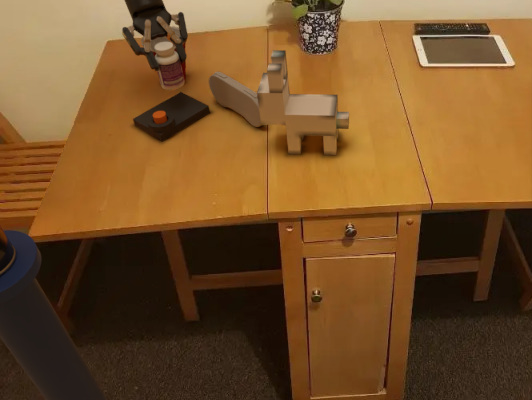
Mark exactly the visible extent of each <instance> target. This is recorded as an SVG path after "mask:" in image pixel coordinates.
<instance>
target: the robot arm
mask: <svg viewBox="0 0 532 400" xmlns="http://www.w3.org/2000/svg"><path fill="white" fill-rule="evenodd" d="M124 3H125V6H126V7H127V11H128V13H129V15H130V18H131V19H132V24H131V25H130V26H124V27H122V29H121V32H122V33H121V35H122V36H123V38H124V39H125V41H126V42H127V44H128V45H129V47H130V49H131V50H132V52H133V53H134V55H135V56H137V57H139V56H144V57H146V60H147V63H148V64H149V67H150V69H151V70H154V72H157V71H159V66H158V64H157V61H156V59H155V57H154V54H153V52H151V50H150V43H151V40H154V39H156V38H158V37H166V38H167V39H168V40H169V41H171V42H172V43H173V44H174V46H175V49H176V52H177V53H178V55H179V58H180V61H181V63H185V60H186V61H187V57H188V56H187V53H186V49H185V50H184V48H183V45H182V44H183V43H184V42H187V41H188V38H189V34H188V30H187V29H188V28H187V24H186V19H185V14H184V12H182V11H179V12H178V13H176V14H175V13H173V14H171V13H170V12H169V11H168V10H167V8H166V5H165V3H164V0H124ZM172 21H173V23H174V24H175V25H176V26H177V27H178V28H179V31H180V37H178V36H177V35H176V34H175V32H174V31H173V30H172V29H171V28H170V26H171V22H172ZM135 32H137V33H138V34H139V35H141V36H142V37H143V36H144V47H143V46H140V45H139V43H138V41H137V40H136V38H135ZM16 258H17V252H16V250H15V248H14V246H13V245H12V244H11V242H10V241H9V239H8V238H7V236H6V234H5V233H4V229H3V228H2V226H1V225H0V277H1V276H3V275H4V274H5V273H7V272H8V271H9V270H10V269H11V268H12V266H13V265H14V263H15V261H16Z"/></svg>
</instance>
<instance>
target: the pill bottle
mask: <svg viewBox="0 0 532 400" xmlns="http://www.w3.org/2000/svg"><path fill="white" fill-rule="evenodd" d="M155 52H156V55H155V59H156V61H157V64H158V66H159V71H156V72H157V76H158V79H159V83H160V86H161V87H162V89H164V90H165V91H175V90H178V89H181V88H182V87H184V85H185V81H186V80H185V81H184V76H183V71H182V67H181V63H180V58H179V55H178V53H177V52H176V51H174V46H173V44H172V43H171V42H160V43H158V44H156V45H155Z"/></svg>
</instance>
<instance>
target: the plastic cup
mask: <svg viewBox="0 0 532 400" xmlns="http://www.w3.org/2000/svg"><path fill="white" fill-rule="evenodd" d="M170 28H171V29H172V30H173V31H174V32H175V34H176V35H177V36H178V37H180V31H179V26H173V25H170ZM140 41H141V42H140V43H141V47H144V36H143V35H142V38H141V40H140ZM160 42H171V41H169V40H168V39H167V38H166V37H158V38H156V39H154V40H151V43H150V50H151V52H153V54H154V57H155V55H156V52H155V45H156V44H158V43H160ZM186 42H187V41H186ZM186 42H184V43H183V44H182V45H183V48H184V50H185V51H186V45H187V44H186ZM171 43H172V42H171ZM172 44H173V43H172ZM173 46H174V44H173ZM174 51H176V49H175V46H174ZM180 63H181V61H180ZM181 67H182V71H183V76H184V81H187V79H186V78H187V59H186V60H185V63H181Z"/></svg>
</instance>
